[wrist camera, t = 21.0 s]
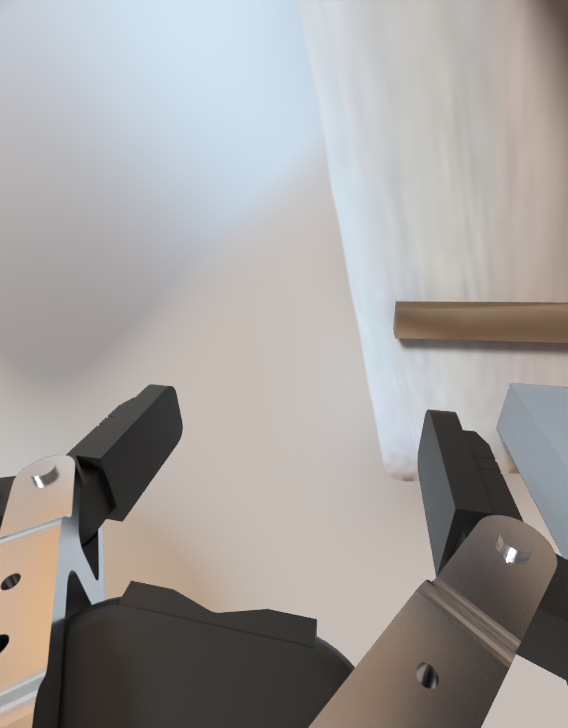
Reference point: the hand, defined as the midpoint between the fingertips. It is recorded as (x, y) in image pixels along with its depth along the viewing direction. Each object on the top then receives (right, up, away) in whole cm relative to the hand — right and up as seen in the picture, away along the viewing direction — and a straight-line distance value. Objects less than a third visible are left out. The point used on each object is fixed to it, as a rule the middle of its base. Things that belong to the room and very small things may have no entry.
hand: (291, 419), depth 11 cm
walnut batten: (+22, +7, +24) cm, 34 cm away
